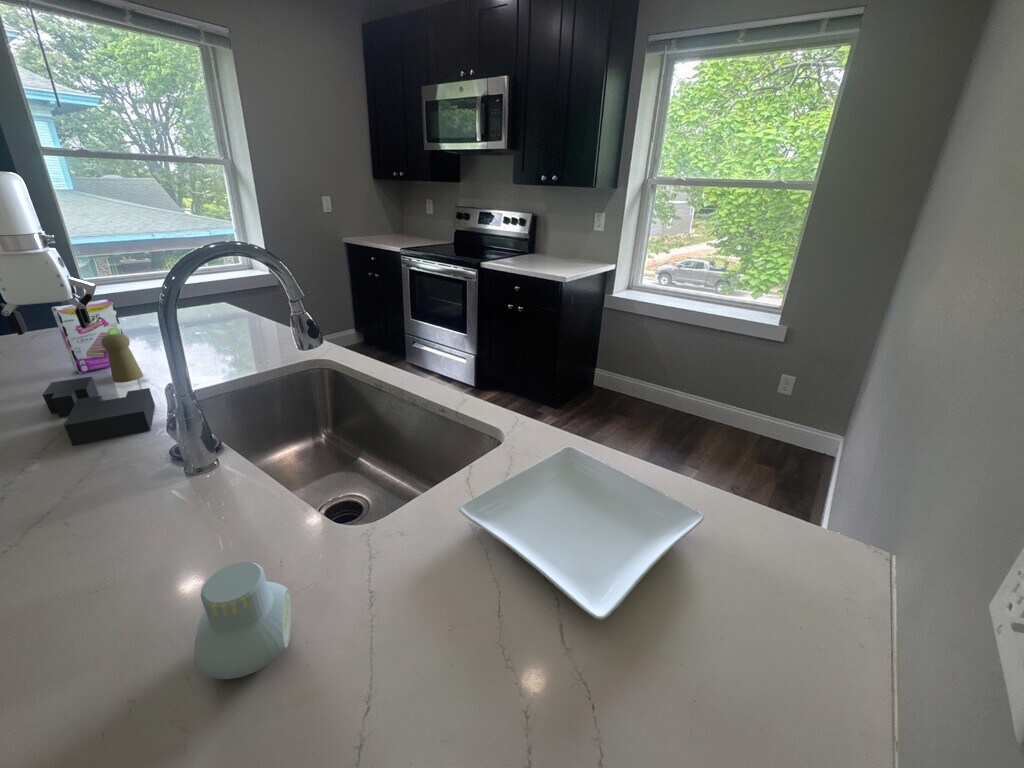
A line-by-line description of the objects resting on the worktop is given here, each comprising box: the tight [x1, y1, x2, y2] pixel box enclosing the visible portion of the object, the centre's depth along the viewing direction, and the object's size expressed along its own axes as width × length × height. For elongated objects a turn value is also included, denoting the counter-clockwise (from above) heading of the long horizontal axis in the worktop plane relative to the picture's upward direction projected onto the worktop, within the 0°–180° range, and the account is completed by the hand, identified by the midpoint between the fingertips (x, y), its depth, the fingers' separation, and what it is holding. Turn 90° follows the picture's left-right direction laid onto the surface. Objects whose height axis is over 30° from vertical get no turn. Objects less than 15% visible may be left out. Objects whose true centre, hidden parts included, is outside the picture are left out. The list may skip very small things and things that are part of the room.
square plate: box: [458, 445, 705, 621], centre depth 71 cm, size 27×27×4 cm
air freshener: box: [193, 561, 292, 680], centre depth 51 cm, size 11×8×10 cm
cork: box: [102, 333, 144, 383], centre depth 114 cm, size 6×6×11 cm
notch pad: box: [63, 387, 156, 447], centre depth 95 cm, size 12×12×4 cm
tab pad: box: [42, 376, 100, 418], centre depth 101 cm, size 7×10×4 cm
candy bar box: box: [51, 299, 124, 375], centre depth 118 cm, size 11×5×16 cm, turn 144°
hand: (55, 329), depth 95 cm, fingers open, 9 cm apart
